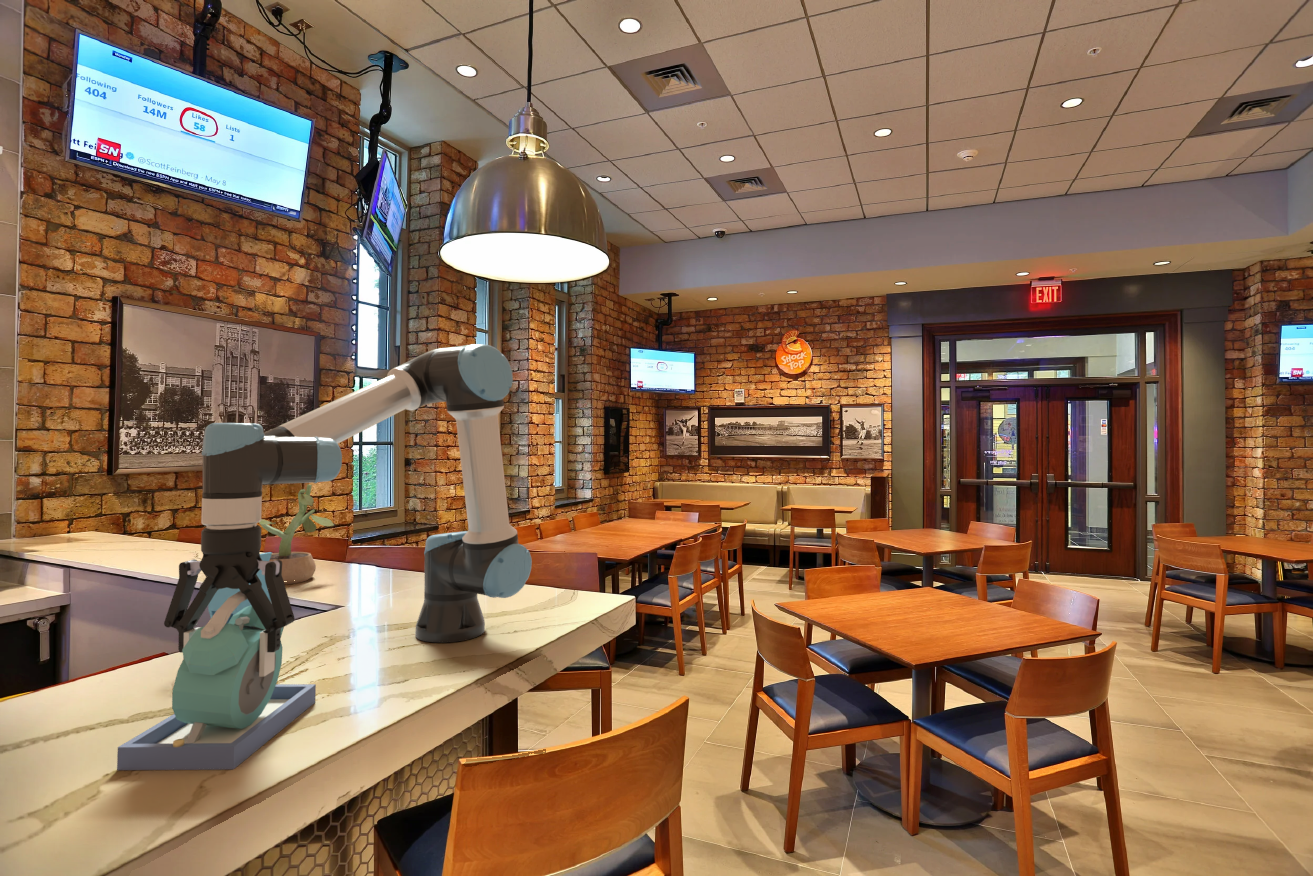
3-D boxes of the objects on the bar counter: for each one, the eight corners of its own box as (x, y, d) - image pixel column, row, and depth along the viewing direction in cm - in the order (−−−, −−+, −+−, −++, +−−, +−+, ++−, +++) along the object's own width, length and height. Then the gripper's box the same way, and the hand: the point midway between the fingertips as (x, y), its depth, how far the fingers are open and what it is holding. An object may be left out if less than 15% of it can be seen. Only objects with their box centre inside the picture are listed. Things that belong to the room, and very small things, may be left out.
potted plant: (237, 586, 190) (239, 485, 190) (274, 574, 208) (276, 482, 208) (311, 588, 189) (313, 486, 189) (343, 575, 207) (344, 483, 207)
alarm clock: (231, 702, 104) (233, 579, 104) (291, 701, 104) (294, 579, 105) (155, 754, 86) (158, 606, 87) (228, 752, 87) (231, 606, 87)
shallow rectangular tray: (315, 702, 107) (316, 680, 107) (233, 769, 85) (233, 742, 85) (223, 702, 106) (224, 680, 106) (116, 770, 84) (117, 743, 84)
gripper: (321, 522, 100) (319, 664, 100) (171, 521, 99) (169, 665, 99) (296, 529, 92) (293, 682, 92) (134, 528, 91) (131, 683, 91)
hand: (229, 673), depth 95 cm, fingers open, 10 cm apart
